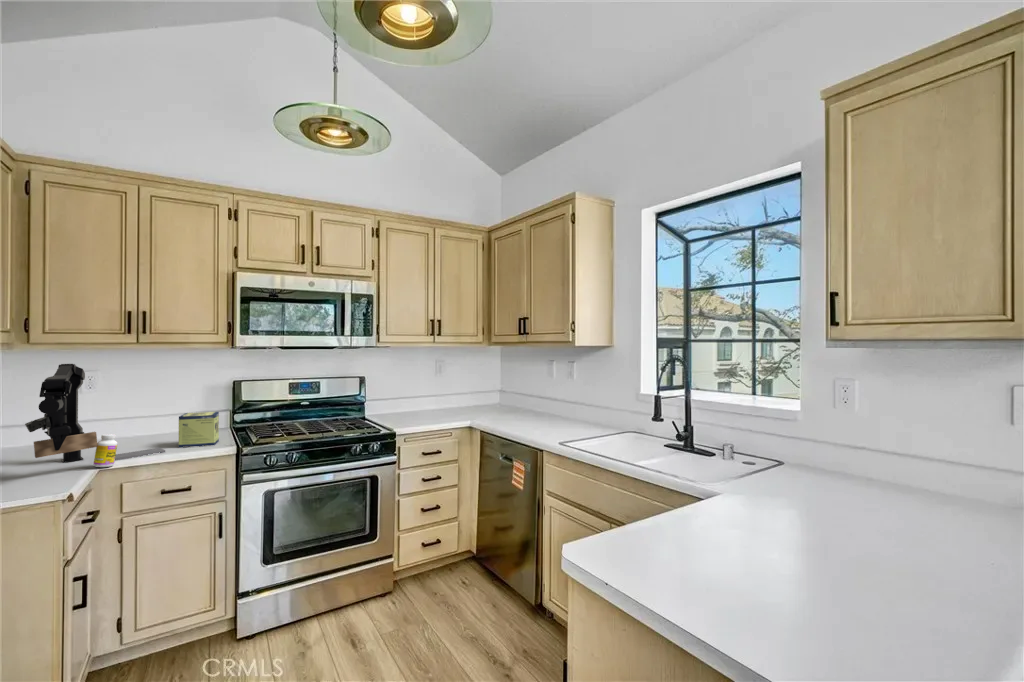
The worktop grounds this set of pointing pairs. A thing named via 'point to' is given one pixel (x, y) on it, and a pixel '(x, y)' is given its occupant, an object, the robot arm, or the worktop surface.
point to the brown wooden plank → (66, 444)
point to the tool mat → (138, 453)
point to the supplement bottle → (105, 451)
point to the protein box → (198, 429)
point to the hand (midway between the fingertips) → (56, 449)
